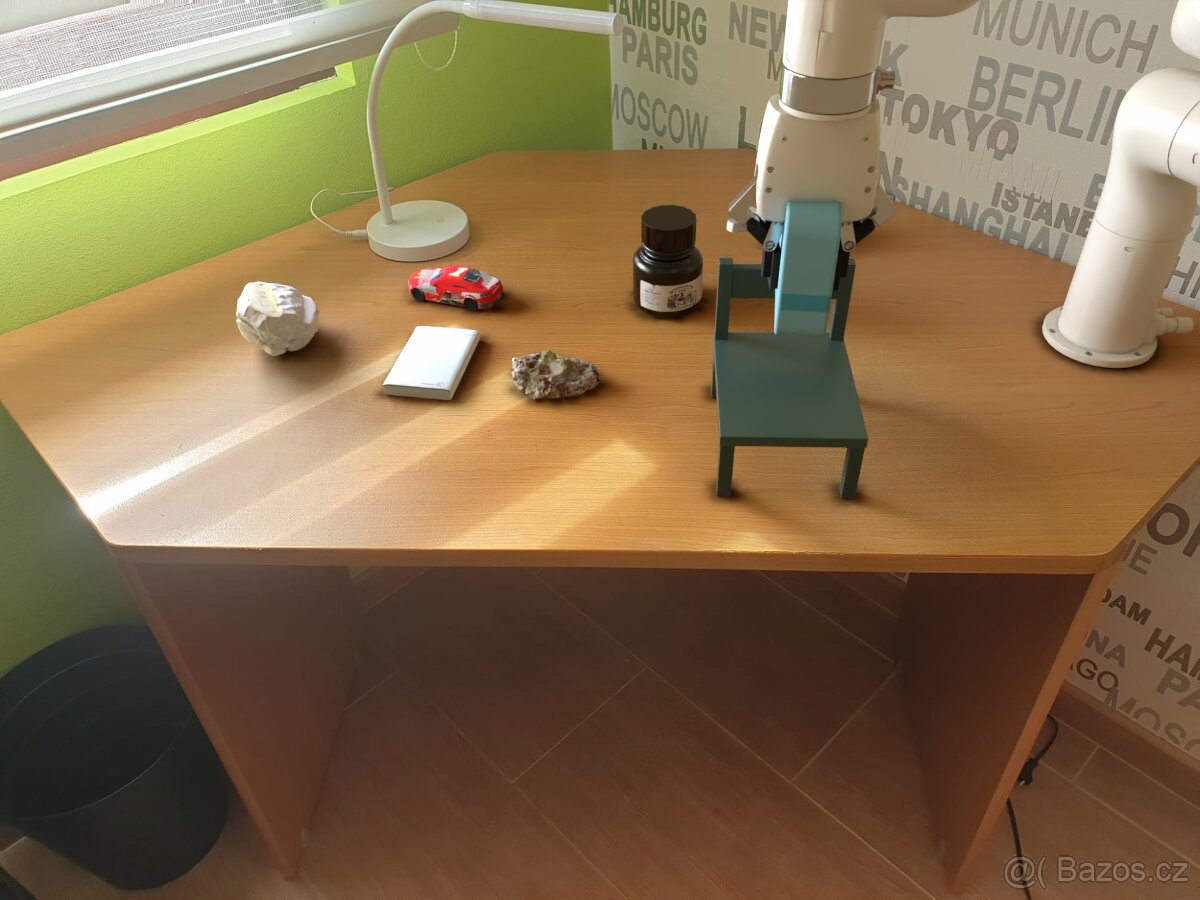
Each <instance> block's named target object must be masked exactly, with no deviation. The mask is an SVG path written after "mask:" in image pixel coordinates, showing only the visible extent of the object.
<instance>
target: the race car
mask: <svg viewBox="0 0 1200 900" xmlns="http://www.w3.org/2000/svg"><path fill="white" fill-rule="evenodd" d="M407 284H408V285H407V286H408V292H409V295H410V296H412V297H413V298H414V300H416V301H419V302H422V301H424V300H426V301H429V302H436V303H442V304H448V305H453V306H456V307H457V306H458V307H462V308H464V307H465V308H466V309H467V310H468V311H470V312H471V311H473V312H475V311H476V310H477V309H478V310H483V309H489V308H492V307H494V306H496V305H497V303H498V302H499V301H500V300H501V299H502V297H503V296H504V295H505V293H504V286H503V284H502V282H501V279H500V278H498V277H497V276H495V275H493V274H490V273H487V272H485V271H482V270H479V269H476V268H473V267H469V266H463V265H453V264H450V265H449V266H447V267H443V268H441V267H438V268H437V267H429V268H423V269H420V270H418V271H416V272H414V273H412V274H411V275H410V277H409V278H408V283H407Z"/></svg>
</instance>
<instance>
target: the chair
mask: <svg viewBox="0 0 1200 900" xmlns="http://www.w3.org/2000/svg"><path fill="white" fill-rule="evenodd" d="M761 265H762V263H734V259H733V257H719V258H718V267H717V284H716V286H717V287H716V301H715V319H714V331H713V334H712V344H713V345H712V347H713V348H712V349H713V351H712V365H711V367H712V368H711V381H710V382H711V384H710V385H711V386H710V397H711V398H716V412H717V426H718V427H717V428H718V458H717V469H716V470H717V471H716V484H715V489H716V497H723V498H724V497H725V498H727V497H731V496H732V485H733V473H734V462H735V461H734V460H735V450H736V447H772V448H773V447H774V448H775V447H777V448H778V447H779V448H831V449H832V448H833V449H835V448H836V449H837V448H838V449H839V448H840V449H841V448H842V449H846V452H845V456H844V461H843V468H842V472H841V478H840V483H839V488H838V490H839V495H840V499H842V500H843V499H844V500H845V499H847V500H849V499H850V500H855V499H856V496H857V489H858V485H859V480H860V475H861V469H862V465H863V461H864V455H865V451H866V449H867V447H868V442H869V435H868V433H867V428H866V423H865V419H864V415H863V411H862V408H861V403H860V400H859V395H858V390H857V388H856V384H855V383H856V382H855V378H854V374H853V371H852V366H851V363H850V358H849V354H848V351H847V346H846V342H845V339H844V338H845V333H846V327H847V322H848V315H849V309H850V303H851V297H852V291H853V285H854V280H855V279H854V278H855V274H856V273H855V272H856V267H857V264H856V261H855V258H853V257H852V258H850V257H849V263H848V269H847V275H846V278H840V282H839V289H838V291H832V296H831V300H833V303H832V310H831V316H830V317H831V318H830V323H829V331H828V332H826V334H825V336H824V337H807V336H791V335H777V334H775V332H773V331H772V332H769V331H768V332H767V331H765V332H764V331H762V332H760V331H759V332H758V331H757V332H756V331H754V332H753V331H752V332H751V331H729V329H730V316H731V302H732V300H735V299H737V300H739V299H741V300H742V299H743V300H744V299H746V300H747V299H748V300H749V299H750V300H752V299H753V300H755V299H756V300H758V299H759V300H761V299H762V300H775V290H769V283H768V277H762V275H761Z"/></svg>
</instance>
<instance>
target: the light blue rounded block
mask: <svg viewBox="0 0 1200 900" xmlns="http://www.w3.org/2000/svg"><path fill="white" fill-rule="evenodd" d="M841 226H842V214H841V203H840V202H839V201H823V202H810V201H789V202H788V203H787V208H786V217H785V223H784V230H783V232H782V234H781V237H780V240H779V243H780V248H781V260H780V270H779V279H778V288H777V289H775V299H774V300H775V301H774V326H773V327H774V329H773V331H774V332H775V334H777V335H791V336H807V337H824V336H825V334H826V333H827V328H828V322H829V315H830V309H831V302H832V299H831V296H832V290H833V283H834V277H835V270H836V263H837V257H838V250H839V244H840V237H841Z"/></svg>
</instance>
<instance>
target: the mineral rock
mask: <svg viewBox="0 0 1200 900" xmlns="http://www.w3.org/2000/svg"><path fill="white" fill-rule="evenodd" d="M511 365H512V367H511V368H510V375H511V379H512V382H513V383H512V384H513V386H514V388H515V389H516V390H519V392H520V393H523V394H524V395H526V396H528V397H529V398H530V399H531V400H537V399H547V398H548V399H553V400H555V399H560V398H566V397H568V398H570V397H574V396H575V397H578V396H581V395H582V394H585V392H586V391H587V390H588V391H590V390H594V389H595V387H597V386H599V384H600V383H601V380H602V379H601V378H600V376H601V375H600V373H599V372H598V369H597V366H596V365H595V364H593V363H591V361H585V360H583V359H578V358H576V357H575V356H574V357H573V356H566V357H563V356H562V355H561V354H556V353H555V352H553V351H552V350H550V349H545V350H542V352H534V353H530V354H529V355H523V356H520V357H519V356H516V357H512V358H511Z"/></svg>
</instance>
